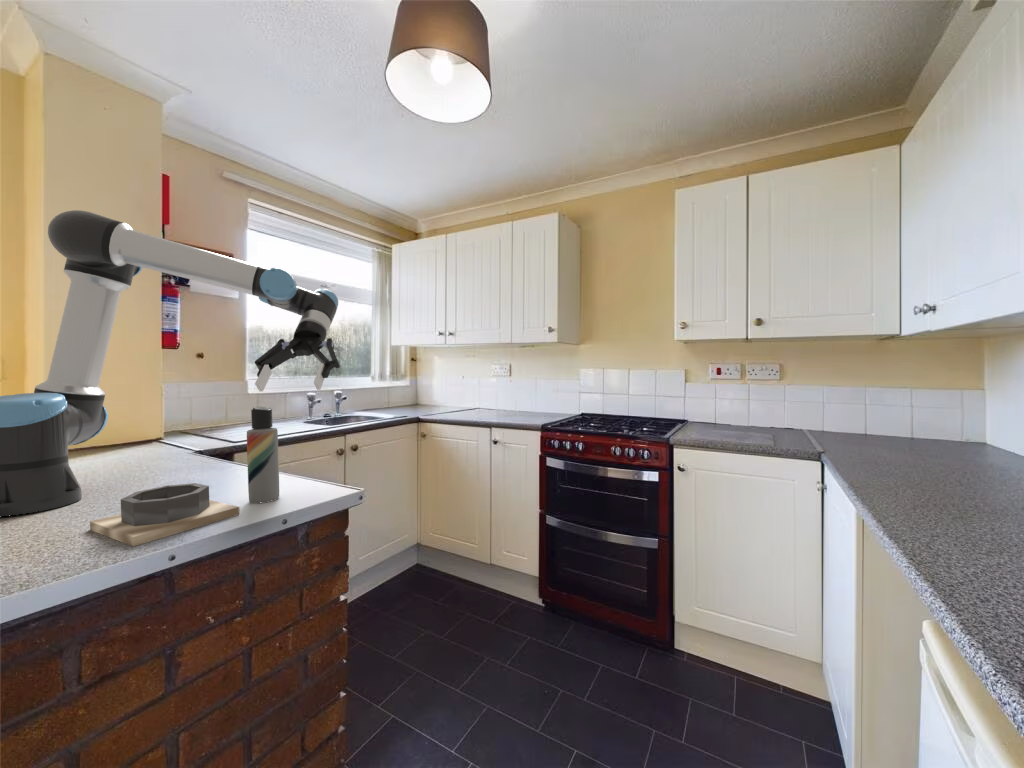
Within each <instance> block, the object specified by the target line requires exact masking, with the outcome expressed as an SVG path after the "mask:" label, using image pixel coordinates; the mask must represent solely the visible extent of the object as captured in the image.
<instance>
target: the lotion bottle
mask: <svg viewBox="0 0 1024 768" xmlns="http://www.w3.org/2000/svg"><path fill="white" fill-rule="evenodd" d="M250 414H251V418H250V419H251V429H248V430H247V431H246V453H247V454H246V457H247V487H248V502H249V503H251V502H252V503H251V504H261V503H260V502H265V503H268V502H267V501H270V502H272V501H271V500H273V501H275V499H276V500H278V499H279V498H280V465H279V464H280V461H279V459H280V458H279V434H278V433H279V432H278V428H276V427H273V409H272V408H271V407H265V406H254V407H252V409H250ZM278 497H279V498H278ZM277 498H278V499H277Z"/></svg>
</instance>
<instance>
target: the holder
mask: <svg viewBox="0 0 1024 768" xmlns="http://www.w3.org/2000/svg"><path fill="white" fill-rule="evenodd" d="M238 514H239V515H240V507H239V506H237V505H233V504H229V503H226V502H225V503H224V502H220V501H216V500H211V499H210V486H209V485H206V484H201V483H195V482H194V483H183V484H181V483H179V484H168V485H163V486H157V487H153V488H149V489H144V490H138V491H135V492H132V493H131V494H129V495H127V496H125V497H122V498H121V499H120V514H115V515H111V516H107V517H103V518H99V519H94V520H91V521H89V530H90V531H92V532H94V533H98V534H100V535H102V536H105V537H107V538H111V539H112V540H115V541H118V542H120V543H123V544H125V545H129V546H131V547H136V546H139V545H143V544H146V543H149V542H153V541H155V540H159V539H163V538H165V537H169V536H173V535H175V534H176V535H177V534H180V533H183V532H186V531H189V530H192V529H195V528H199V527H203V526H206V525H209V524H212V523H216V522H219V521H222V520H227V519H229V518H233V517H236V516H239V515H238ZM235 515H236V516H235ZM232 516H233V517H232Z"/></svg>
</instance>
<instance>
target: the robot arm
mask: <svg viewBox="0 0 1024 768" xmlns="http://www.w3.org/2000/svg"><path fill="white" fill-rule="evenodd" d="M47 227H48V228H47V235H48V236H47V237H48V239H49V241H50V243H51V245H52V247H53V248H54V249H55V250H56V251H57V252H58V253H59V254H60V255H62V256H63V257H64V258H66V260H65V264H64V267H63V272H64V274H65V275H66V276H67V277H68V278H69V279H70V285H69V288H68V291H67V292H68V293H67V297H66V300H65V305H64V309H63V313H62V317H61V322H60V325H59V330H58V334H57V336H56V338H57V339H56V342H55V345H54V351H53V354H52V359H51V362H50V367H49V371H48V375H47V378H46V380H45V381H43V382H41V383H38V384H37V385H35V387H34V390H33V392H29V393H28V392H27V393H25V392H24V393H16V394H9V395H8V394H7V395H0V516H9V515H16V516H20V515H19V514H23V515H26V513H29V514H32V513H33V512H34V513H38V511H39V512H45V511H48V510H52V509H56V508H60V507H64V506H68V505H71V504H75V503H76V502H78V501H80V500H81V499H82V498H83V497H82V494H83V493H82V491H83V490H82V486H81V485H80V483H79V481H78V479H77V478H76V476H75V474H74V471H72V468H71V467H70V462H69V446H77V445H80V444H83V443H86V442H87V441H89V440H91V439H93V438H94V437H97V436H98V435H99V434H100V433H101V432H102V431H103V430H104V429H105V427H106V426H107V424H108V417H109V414H108V410H107V408H106V407H105V406H104V404H105V403H104V401H105V399H106V398H105V396H106V392H105V391H104V390H103V389H102V388H101V387H100V386H99V385H100V382H101V377H102V375H103V374H102V373H103V370H104V369H103V368H104V365H105V361H106V357H107V352H108V347H109V344H110V339H111V336H112V335H111V334H112V330H113V326H114V323H115V317H116V314H117V310H118V306H119V301H120V297H121V294H122V292H123V291H125V290H130V288H131V286H132V283H133V279H134V277H135V276H137V275H139V273H140V272H141V271H142V270H143V268H144V269H147V270H152V271H155V272H159V273H163V274H167V275H171V276H176V277H180V278H183V279H187V280H192V281H195V282H199V283H203V284H208V285H211V286H216V287H219V288H224V289H228V290H231V291H236V292H240V293H243V294H248V295H252V296H254V297H258V299H259V301H261V302H262V303H265V304H268V305H270V306H271V307H276V308H279V309H281V310H285V311H288V312H291V313H293V314H296V315H299V316H301V318H300V320H299V322H298V324H297V326H296V328H295V330H294V332H293V337H292V339H291V340H290V341H285V340H284V338H280V339H278V341H277V342H276V344H275V345H274V346H272V347H271V348H270V349H269V350H267V351H266V352H265V353H264V354H262V355H261V356H259V357H258V358H257V359H256V360H255V361H254V364H255V365H256V368H257V369H258V371H257V373H256V377H257V379H256V381H255V382H254V385H255V386H256V388H257V390H258V391H259V392H264V389H265V388H266V386H267V384H268V382H269V379H270V378H271V375H272V374H273V372H272V370H273V369H275V368H276V367H278V366H280V365H282V364H284V363H286V362H287V361H288V360H290V359H292V360H293V359H295V358H296V357H303V356H305V357H310V356H312V355H313V356H314V357H315V358H316V359H317V360H318V361H319V362H320V365H319V367H318V370H317V372H316V375H315V378H314V380H313V384H314V386H315V388H316V390H317V391H320V390H321V389H322V386H323V383H324V381H325V379H328V378H329V375H330V373H331V370H333V369H334V368H335V369H339V368H341V365H340V363H339V359H338V357H337V355H336V352H335V343H334V341H333V339H332V338H331V337H329V338H327V335H328V332H329V330H330V327H331V325H332V322H333V321H334V318H335V315H336V313H337V310H338V306H339V299H338V297H337V295H336V294H335V293H334V292H333V291H332V290H330V289H327V288H317V289H316V290H314V291H312V290H308V289H305V288H303V287H300V286H298V285H297V282H296V279H295V278H294V277H293V275H292V274H291V273H290V272H288V271H287V270H285V269H283V268H279V267H271V268H269V267H265V266H262V265H258V264H255V263H252V262H248V261H243V260H240V259H236V258H233V257H229V256H226V255H223V254H219V253H215V252H212V251H208V250H205V249H203V248H202V249H201V248H198V247H194V246H191V245H186V244H184V243H180V242H177V241H174V240H173V241H172V240H170V239H166V238H162V237H158V236H156V235H151V234H147V233H144V232H142V231H139V230H134V229H133V228H132V226H131V225H129V224H128V223H126V222H124V221H123V222H122V221H119V220H115V219H112V218H109V217H106V216H103V215H100V214H97V213H95V212H92V211H91V212H90V211H86V210H78V209H77V210H67V211H63V212H61V213H59V214H57V215H55V216H54V217H53V218H52V219H51V221H50V222H49V224H48V226H47ZM323 347H324V348H325V349H327V351H328V353H329V355H330V358H331V360H330V359H329V358H328V357H327V356H325V354H324V353H323V352H322V351H321V349H323ZM34 513H33V514H34ZM9 517H10V516H9Z"/></svg>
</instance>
